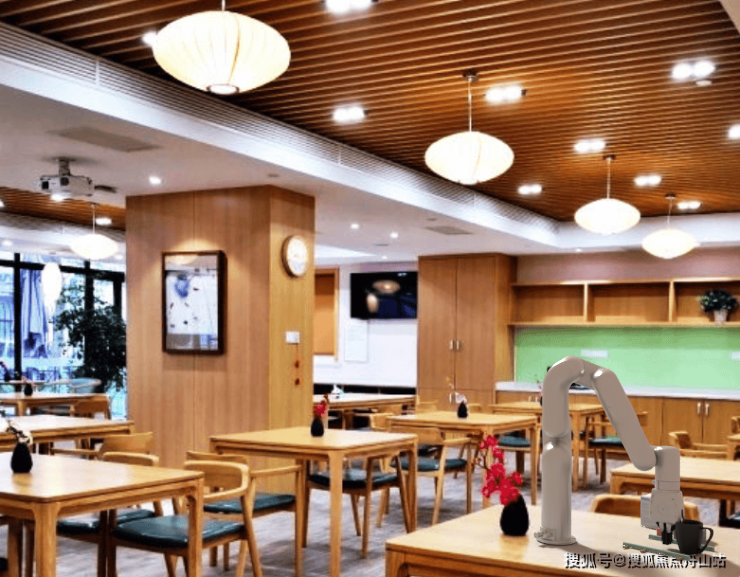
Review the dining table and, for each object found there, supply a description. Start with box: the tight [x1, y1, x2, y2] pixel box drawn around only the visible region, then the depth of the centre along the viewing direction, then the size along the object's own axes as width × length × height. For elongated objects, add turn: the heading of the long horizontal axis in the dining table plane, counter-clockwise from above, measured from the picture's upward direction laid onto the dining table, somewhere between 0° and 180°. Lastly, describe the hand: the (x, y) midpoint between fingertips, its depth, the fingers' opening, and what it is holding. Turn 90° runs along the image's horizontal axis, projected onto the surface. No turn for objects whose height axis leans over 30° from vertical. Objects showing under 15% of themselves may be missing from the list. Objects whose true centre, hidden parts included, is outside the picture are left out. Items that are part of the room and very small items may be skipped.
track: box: [622, 533, 715, 562], centre depth 282 cm, size 20×22×1 cm
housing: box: [673, 529, 707, 545], centre depth 294 cm, size 10×10×4 cm
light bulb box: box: [640, 492, 668, 530], centre depth 315 cm, size 11×7×11 cm, turn 136°
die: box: [656, 527, 662, 536], centre depth 297 cm, size 3×3×3 cm
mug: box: [675, 518, 714, 556], centre depth 276 cm, size 8×12×10 cm
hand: (667, 544), depth 283 cm, fingers closed
